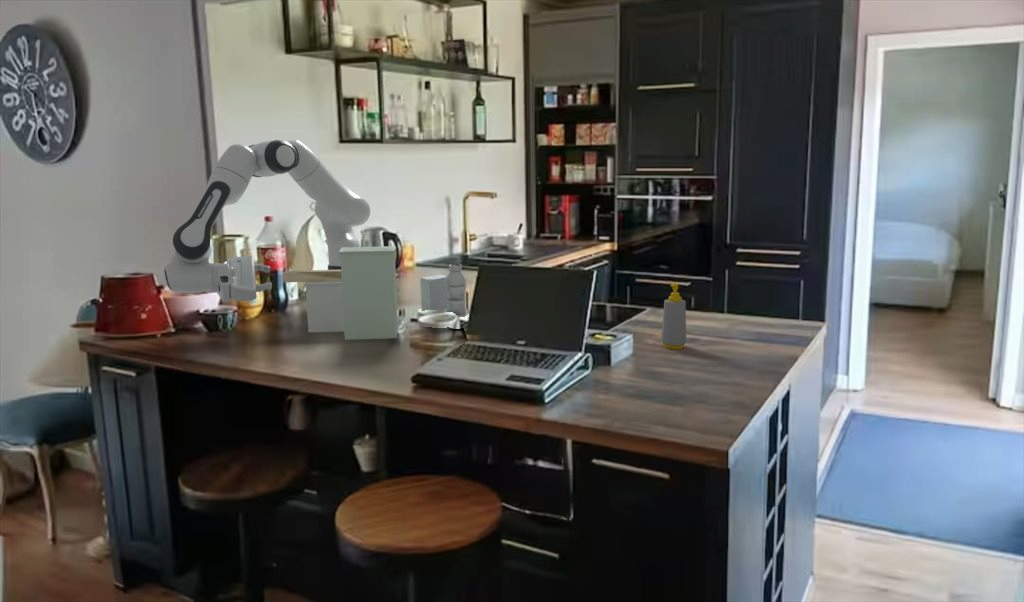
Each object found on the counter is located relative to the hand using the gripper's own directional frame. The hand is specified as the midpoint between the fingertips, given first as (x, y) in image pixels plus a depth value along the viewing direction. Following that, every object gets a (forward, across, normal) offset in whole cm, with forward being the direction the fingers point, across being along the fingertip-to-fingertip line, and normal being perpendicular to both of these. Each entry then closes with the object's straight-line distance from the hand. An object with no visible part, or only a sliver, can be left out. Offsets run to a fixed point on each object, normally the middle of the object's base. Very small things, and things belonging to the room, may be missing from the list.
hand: (271, 277), depth 246 cm
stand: (+28, +25, -5) cm, 38 cm away
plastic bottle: (+54, +26, -4) cm, 59 cm away
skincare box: (+50, +15, -9) cm, 53 cm away
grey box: (+17, +12, -12) cm, 24 cm away
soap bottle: (+104, +64, +16) cm, 123 cm away
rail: (+15, +6, +2) cm, 16 cm away
